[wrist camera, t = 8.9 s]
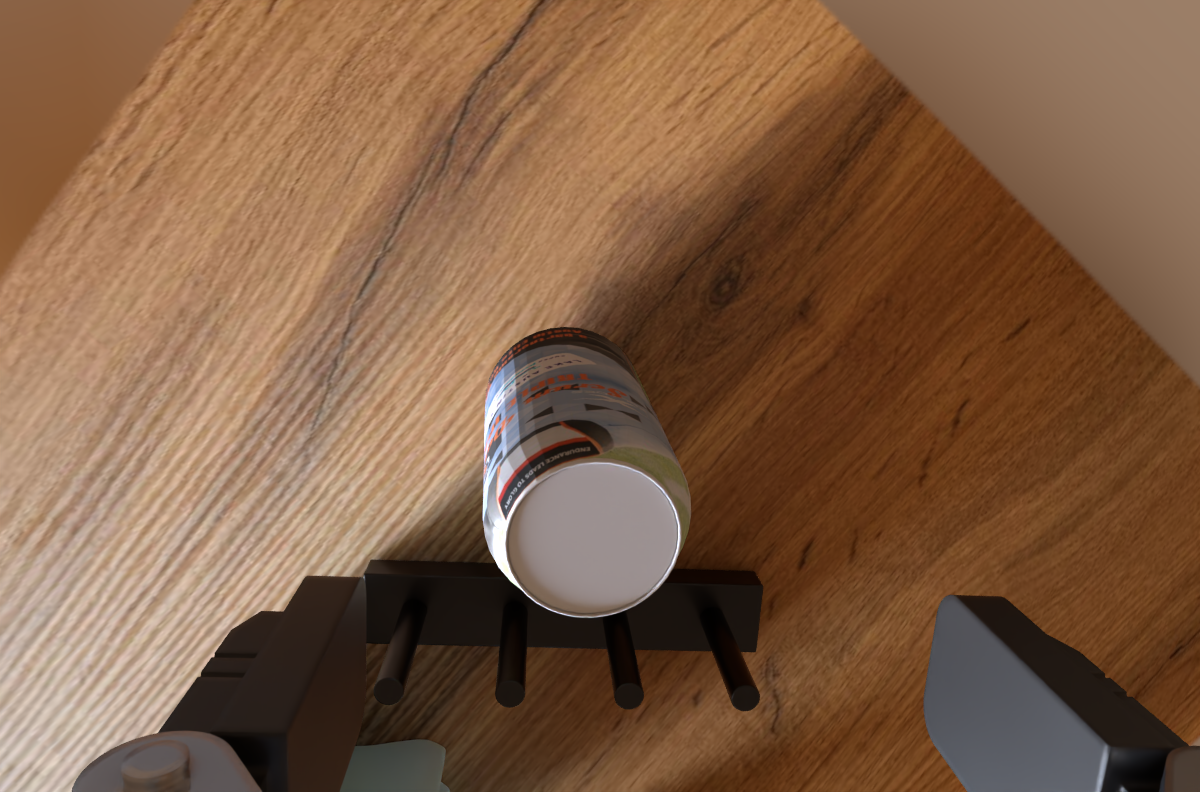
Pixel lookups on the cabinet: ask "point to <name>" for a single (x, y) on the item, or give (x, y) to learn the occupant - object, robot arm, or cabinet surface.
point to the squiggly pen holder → (396, 768)
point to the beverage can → (579, 476)
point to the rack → (557, 624)
